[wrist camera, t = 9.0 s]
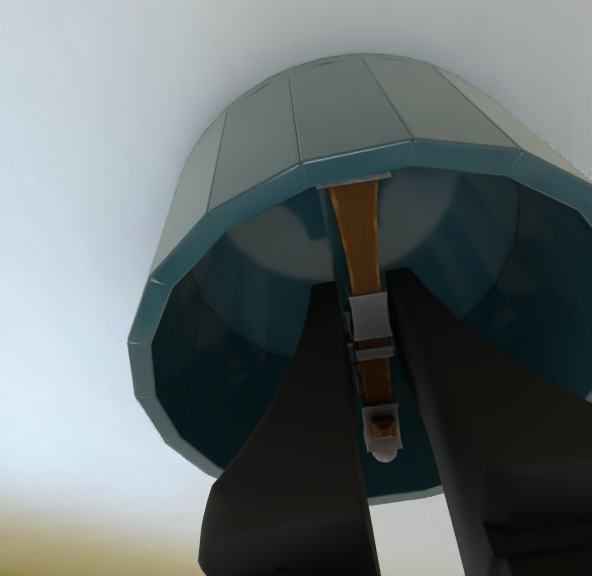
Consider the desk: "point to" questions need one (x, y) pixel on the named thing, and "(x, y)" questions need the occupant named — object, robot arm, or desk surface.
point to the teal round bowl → (330, 258)
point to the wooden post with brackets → (367, 311)
